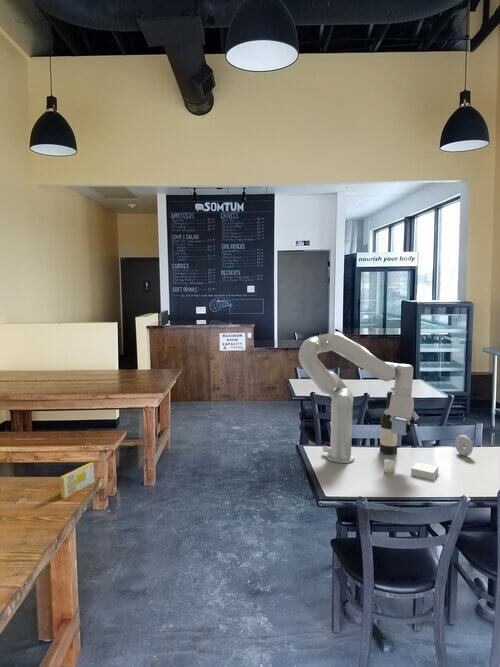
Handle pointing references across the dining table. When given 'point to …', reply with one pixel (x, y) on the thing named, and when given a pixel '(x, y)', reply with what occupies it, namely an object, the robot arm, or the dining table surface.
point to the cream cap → (389, 466)
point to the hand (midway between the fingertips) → (400, 430)
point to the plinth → (424, 470)
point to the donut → (467, 443)
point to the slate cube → (399, 426)
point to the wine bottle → (387, 433)
